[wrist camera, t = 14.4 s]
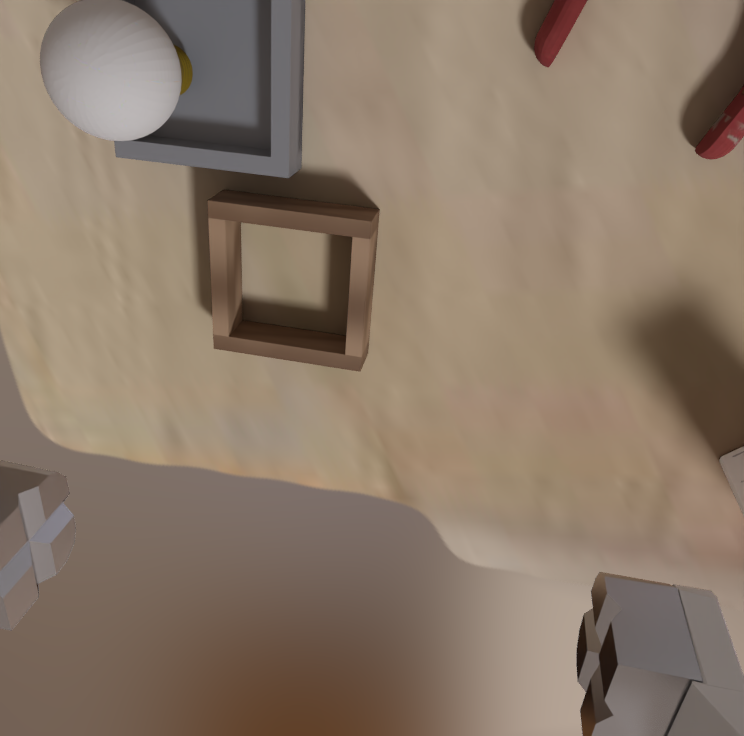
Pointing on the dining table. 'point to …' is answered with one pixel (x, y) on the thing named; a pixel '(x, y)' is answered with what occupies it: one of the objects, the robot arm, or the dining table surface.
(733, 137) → the pliers
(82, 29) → the light bulb
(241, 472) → the dining table surface
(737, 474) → the ink box
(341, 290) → the dining table surface
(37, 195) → the dining table surface
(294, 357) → the frame
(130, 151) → the tray
